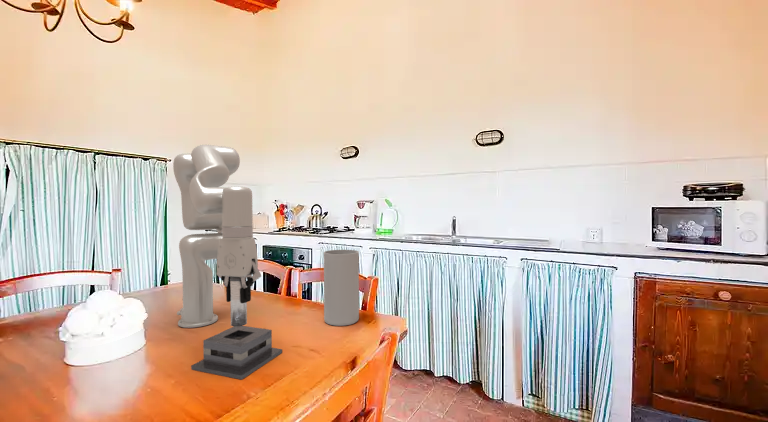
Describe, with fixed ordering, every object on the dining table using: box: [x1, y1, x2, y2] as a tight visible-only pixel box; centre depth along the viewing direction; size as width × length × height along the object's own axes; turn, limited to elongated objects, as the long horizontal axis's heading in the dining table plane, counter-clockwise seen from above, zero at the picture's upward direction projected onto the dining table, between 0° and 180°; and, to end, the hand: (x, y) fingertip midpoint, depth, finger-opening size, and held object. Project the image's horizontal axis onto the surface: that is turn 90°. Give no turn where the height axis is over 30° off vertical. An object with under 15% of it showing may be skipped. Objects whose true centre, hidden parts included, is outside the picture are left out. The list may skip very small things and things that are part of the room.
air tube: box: [230, 277, 248, 327], centre depth 93 cm, size 4×4×15 cm
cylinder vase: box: [323, 249, 360, 327], centre depth 125 cm, size 12×12×25 cm
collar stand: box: [190, 325, 283, 380], centre depth 93 cm, size 16×16×7 cm
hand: (238, 300), depth 93 cm, fingers closed on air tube, 4 cm apart
